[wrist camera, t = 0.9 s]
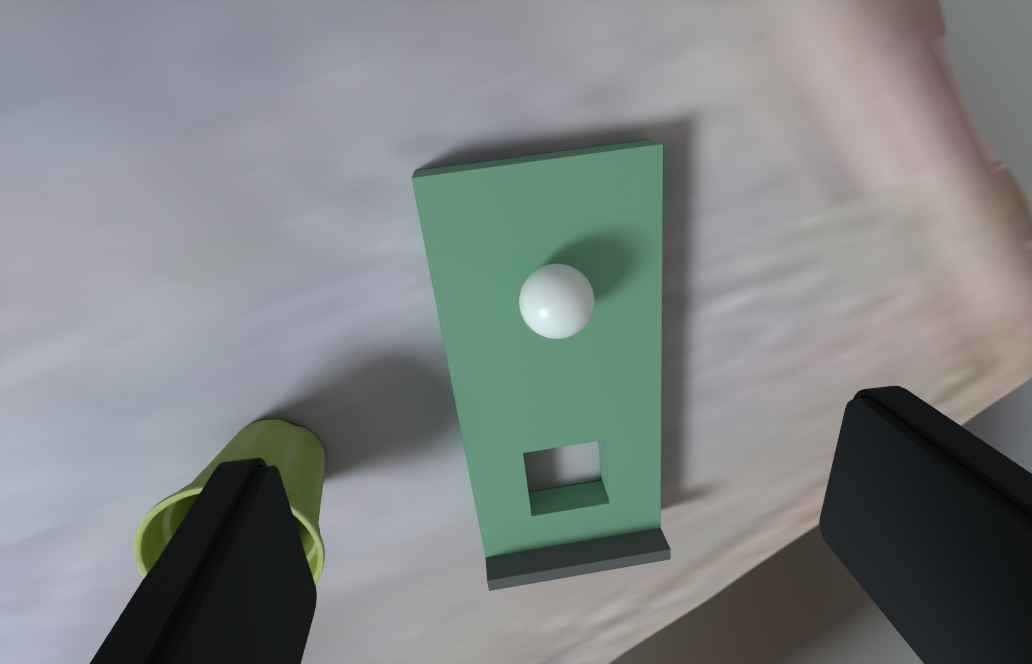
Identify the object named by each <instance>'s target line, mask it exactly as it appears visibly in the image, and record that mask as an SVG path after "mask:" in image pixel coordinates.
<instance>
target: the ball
mask: <svg viewBox="0 0 1032 664" xmlns="http://www.w3.org/2000/svg"><path fill="white" fill-rule="evenodd" d="M519 306H520V311H521V314H522V317H523V319H524V321H525V322H526V324H527V325H528V326H529V327H530V328H531V329H532V330H533V331H534V332H536V333H537V334H539V335H541V336H544V337H547V338H552V339H562V338H567V337H570V336H572V335H574V334H576V333H578V332H579V331H580V330H582V329H583V328H584V327H585V325H586V324H587V323H588V321H589V320H590V318H591V316H592V313H593V310H594V293H593V289H592V287H591V284H590V282H589V281H588V279H587V278H586V277H585V276H584V275H583V274H582V273H581V272H580V271H579V270H577V269H575V268H573V267H571V266H568V265H565V264H550V265H546V266H543V267H541V268H539V269H537V270H535V271H534V272H533V273H532V274H531V275H530V276H529V277H528V278H527V279H526V281H525V282H524V284H523V286H522V289H521V292H520V297H519Z"/></svg>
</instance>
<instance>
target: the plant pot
mask: <svg viewBox="0 0 1032 664" xmlns="http://www.w3.org/2000/svg"><path fill="white" fill-rule="evenodd" d="M252 458H262V459H263V460H264V461H265V462H266V464H267V466H276V467H277V468H278V470H279V472H280V475H281V478H282V481H283V485H284V488H285V491H286V494H287V497H288V500H289V503H290V507H291V510H292V513H293V516H294V519H295V522H296V525H297V528H298V532H299V535H300V538H301V541H302V544H303V547H304V550H305V554H306V557H307V560H308V563H309V566H310V569H311V572H312V576H313V579H314V582H315V585H316V583H317V582H318V580H319V578H320V576H321V573H322V570H323V566H324V560H325V550H324V544H323V540H322V538H321V535H320V528H319V524H318V521H319V513H320V505H321V497H322V489H323V481H324V474H325V466H326V456H325V451H324V448H323V446H322V444H321V443H320V441H319V440H318V438H317V437H316V436H315V435H314V434H313V433H312V432H310V431H309V430H308V429H306V428H304V427H299V426H295V425H293V424H290V423H287V422H285V421H283V420H280V419H268V420H261V421H258V422H255V423H252V424H250V425H248V426H246V427H245V428H243V429H242V430H241V431H240V432H239V433H238V434H237V435H236V436H235V437H234V438H233V439H232V440H231V441H230V442H229V443H228V444H227V445H226V446H225V447H224V449H223V450H222V451H221V452H220V453H219V454H218V455H217V456H216V457H215V458H214V460H213V461H212V462H211V463H210V464H209V465H208V466H207V467H206V468H205V469H204V470H203V471H202V472H201V473H200V474H199V475H198V476H197V477H196V478H195V480H194V481H193V482H192V483H191V484H189V485H187V486H186V487H184V488H182V489H181V490H180V491H178V492H176V493H174V494H172V495H170V496H168V497H167V498H165V499H164V500H162V501H161V502H159V503H158V504H156V505H155V506H154V507H153V508H152V509H151V510H150V511H149V512H148V513H147V514H146V515H145V517H144V518H143V520H142V521H141V523H140V524H139V526H138V528H137V531H136V534H135V536H134V543H133V552H134V557H135V561H136V564H137V566H138V569H139V571H140V572H141V575H142V576H143V578H145V576H146V575H147V573H148V572H149V571H150V569H151V568H152V567H153V566H154V564H155V563H156V561H157V560H158V558H159V557H160V555H161V554H162V552H163V550H164V549H165V547H166V546H167V544H168V543H169V541H170V539H171V538H172V536H173V535H174V533H175V531H176V530H177V528H178V527H179V525H180V524H181V522H182V520H183V519H184V517H185V516H186V514H187V513H188V511H189V509H190V508H191V506H192V505H193V503H194V501H195V500H196V498H197V497H198V495H199V494H200V492H201V490H202V489H203V487H204V486H205V484H206V483H207V481H208V479H209V478H210V476H211V475H212V473H213V471H214V470H215V468H216V467H217V466H218V465H219V464H220V463H222V462H225V461H234V460H243V459H252Z"/></svg>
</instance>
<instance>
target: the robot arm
mask: <svg viewBox="0 0 1032 664" xmlns="http://www.w3.org/2000/svg"><path fill="white" fill-rule="evenodd" d="M819 524H820V530H821V534H822V536H823V538H824V540H825V541H826V543H827V544H828V545H829V547H830V548H831V549H832V550H833V552H834V553H835V554H836V555H837V556H838V558H839V559H840V560H841V562H842V563H843V564H844V565H845V566H846V568H847V569H848V570H849V571H850V573H851V574H852V575H853V576H854V578H855V579H856V580H857V581H858V582H859V584H860V585H861V586H862V587H863V589H864V590H865V591H866V592H867V594H868V595H869V596H870V597H871V599H872V600H873V601H874V602H875V604H876V605H877V606H878V607H879V609H880V610H881V611H882V612H883V613H884V615H885V616H886V617H887V618H888V620H889V621H890V622H891V623H892V625H893V626H894V627H895V628H896V630H897V631H898V632H899V633H900V634H901V636H902V637H903V638H904V639H905V641H906V642H907V643H908V644H909V646H910V647H911V648H912V649H913V651H914V652H915V653H916V654H917V656H918V657H919V658H920V659H921V660H922V662H923V663H924V664H1032V474H1031V473H1030V472H1028V471H1027V470H1025V469H1024V468H1022V467H1021V466H1019V465H1018V464H1016V463H1015V462H1013V461H1012V460H1010V459H1009V458H1007V457H1006V456H1004V455H1003V454H1002V453H1000V452H998V451H997V450H996V449H994V448H993V447H991V446H990V445H988V444H987V443H985V442H984V441H982V440H981V439H979V438H978V437H976V436H975V435H973V434H972V433H970V432H969V431H967V430H966V429H964V428H963V427H961V426H960V425H959V424H957V423H956V422H954V421H953V420H951V419H950V418H948V417H947V416H945V415H944V414H942V413H941V412H939V411H938V410H936V409H935V408H933V407H932V406H930V405H929V404H927V403H926V402H924V401H923V400H921V399H920V398H918V397H917V396H915V395H914V394H912V393H911V392H910V391H908V390H907V389H905V388H902V387H900V386H888V387H879V388H870V389H863V390H860V391H858V392H857V393H856V395H855V396H854V398H853V400H850V401H849V402H848V403H847V405H846V408H845V412H844V416H843V421H842V425H841V429H840V434H839V438H838V442H837V447H836V451H835V455H834V459H833V464H832V468H831V472H830V477H829V481H828V485H827V490H826V494H825V498H824V503H823V507H822V511H821V516H820V522H819ZM316 598H317V593H316V586H315V582H314V579H313V576H312V572H311V569H310V566H309V563H308V560H307V557H306V554H305V550H304V547H303V544H302V541H301V538H300V535H299V532H298V528H297V525H296V522H295V519H294V516H293V513H292V510H291V507H290V503H289V500H288V497H287V494H286V491H285V488H284V485H283V481H282V478H281V475H280V472H279V470H278V468H277V467H276V466H267V464H266V462H265V461H264V460H263V459H262V458H252V459H243V460H234V461H225V462H222V463H220V464H219V465H218V466H217V467H216V468H215V470H214V471H213V473H212V475H211V476H210V478H209V479H208V481H207V483H206V484H205V486H204V487H203V489H202V490H201V492H200V494H199V495H198V497H197V498H196V500H195V501H194V503H193V505H192V506H191V508H190V509H189V511H188V513H187V514H186V516H185V517H184V519H183V520H182V522H181V524H180V525H179V527H178V528H177V530H176V531H175V533H174V535H173V536H172V538H171V539H170V541H169V543H168V544H167V546H166V547H165V549H164V550H163V552H162V554H161V555H160V557H159V558H158V560H157V561H156V563H155V564H154V566H153V567H152V568H151V569H150V571H149V572H148V573H147V575H146V576H145V578H144V579H143V581H142V582H141V584H140V586H139V587H138V589H137V590H136V592H135V593H134V595H133V597H132V598H131V600H130V601H129V603H128V604H127V606H126V608H125V609H124V611H123V612H122V614H121V615H120V617H119V619H118V620H117V622H116V623H115V625H114V626H113V628H112V630H111V631H110V633H109V634H108V636H107V637H106V639H105V640H104V642H103V644H102V645H101V647H100V648H99V650H98V651H97V653H96V655H95V656H94V658H93V659H92V661H91V662H90V664H301V660H302V657H303V653H304V649H305V645H306V642H307V638H308V634H309V631H310V627H311V623H312V620H313V616H314V612H315V608H316Z"/></svg>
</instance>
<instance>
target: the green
mask: <svg viewBox="0 0 1032 664" xmlns="http://www.w3.org/2000/svg"><path fill="white" fill-rule="evenodd" d="M412 182H413V187H414V193H415V198H416V203H417V208H418V213H419V218H420V223H421V228H422V234H423V239H424V244H425V249H426V254H427V259H428V264H429V270H430V275H431V280H432V285H433V290H434V295H435V300H436V305H437V311H438V316H439V321H440V326H441V331H442V336H443V341H444V347H445V352H446V357H447V362H448V367H449V372H450V377H451V382H452V388H453V393H454V398H455V403H456V408H457V413H458V418H459V424H460V429H461V434H462V439H463V444H464V449H465V454H466V459H467V465H468V470H469V475H470V480H471V485H472V490H473V495H474V501H475V506H476V511H477V516H478V521H479V526H480V531H481V536H482V542H483V547H484V552H485V557H486V570H487V582H488V587H489V591H491V590H497V589H502V588H508V587H514V586H520V585H525V584H531V583H537V582H543V581H548V580H554V579H560V578H566V577H571V576H577V575H583V574H589V573H594V572H600V571H606V570H612V569H617V568H623V567H629V566H635V565H640V564H646V563H652V562H658V561H663V560H669V559H670V547H669V545H668V543H667V541H666V539H665V536H664V534H663V532H662V530H661V528H660V526H661V367H662V209H663V144H661V143H658V142H655V141H651V140H648V139H647V140H639V141H632V142H624V143H617V144H610V145H602V146H595V147H587V148H580V149H572V150H565V151H558V152H550V153H543V154H535V155H528V156H520V157H513V158H506V159H498V160H491V161H483V162H476V163H468V164H461V165H454V166H446V167H439V168H431V169H424V170H417V171H414V174H413V176H412ZM550 264H565V265H568V266H571V267H573V268H575V269H577V270H579V271H580V272H581V273H582V274H583V275H584V276H585V277H586V278H587V279H588V281H589V282H590V284H591V287H592V289H593V293H594V310H593V313H592V316H591V318H590V320H589V321H588V323H587V324H586V325H585V327H584V328H583V329H582V330H580V331H579V332H578V333H576V334H574V335H572V336H570V337H567V338H562V339H552V338H547V337H544V336H541V335H539V334H537V333H536V332H534V331H533V330H532V329H531V328H530V327H529V326H528V325H527V324H526V322H525V321H524V319H523V317H522V314H521V311H520V306H519V297H520V292H521V289H522V286H523V284H524V282H525V281H526V279H527V278H528V277H529V276H530V275H531V274H532V273H533V272H534V271H535V270H537V269H539V268H541V267H543V266H546V265H550ZM594 441H599V451H600V469H601V480H600V481H594V482H588V483H582V484H576V485H570V486H564V487H558V488H552V489H546V490H540V491H534V492H528V487H527V479H526V472H525V464H524V457H523V453H526V452H532V451H538V450H545V449H551V448H557V447H563V446H569V445H576V444H582V443H588V442H594Z"/></svg>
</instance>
